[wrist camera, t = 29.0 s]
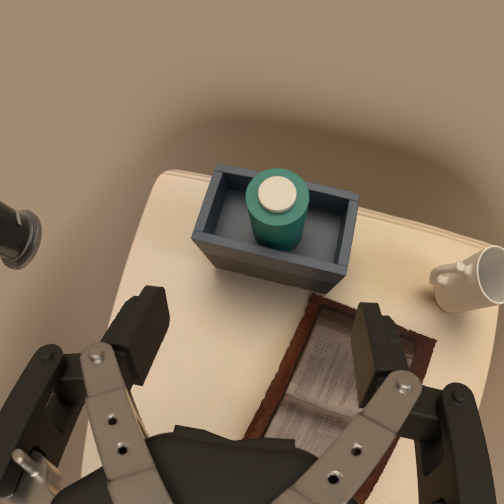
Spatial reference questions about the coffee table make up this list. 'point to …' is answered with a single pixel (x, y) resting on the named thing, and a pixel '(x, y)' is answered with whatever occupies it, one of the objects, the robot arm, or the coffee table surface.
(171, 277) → the coffee table surface
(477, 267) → the mug
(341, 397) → the book
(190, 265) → the coffee table surface
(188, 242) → the coffee table surface
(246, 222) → the open storage box
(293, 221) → the plastic bottle
